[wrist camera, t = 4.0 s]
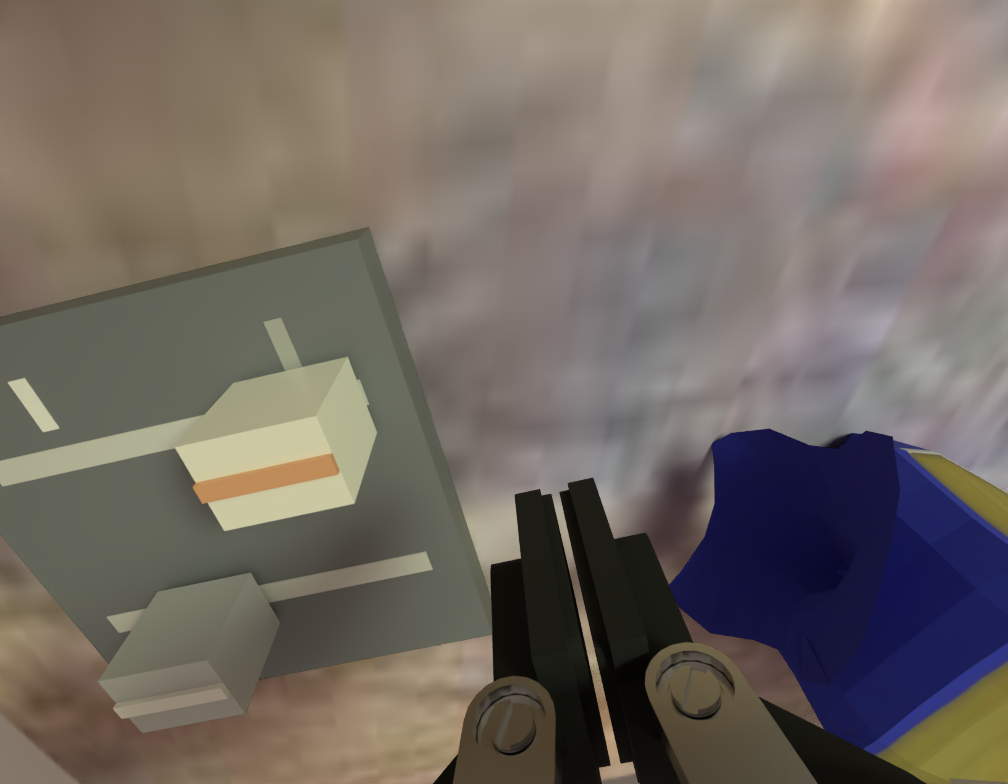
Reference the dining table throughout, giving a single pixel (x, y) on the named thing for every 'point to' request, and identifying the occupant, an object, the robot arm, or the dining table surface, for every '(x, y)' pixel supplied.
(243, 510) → the fader
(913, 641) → the bread
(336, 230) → the dining table surface
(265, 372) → the console
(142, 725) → the fader
